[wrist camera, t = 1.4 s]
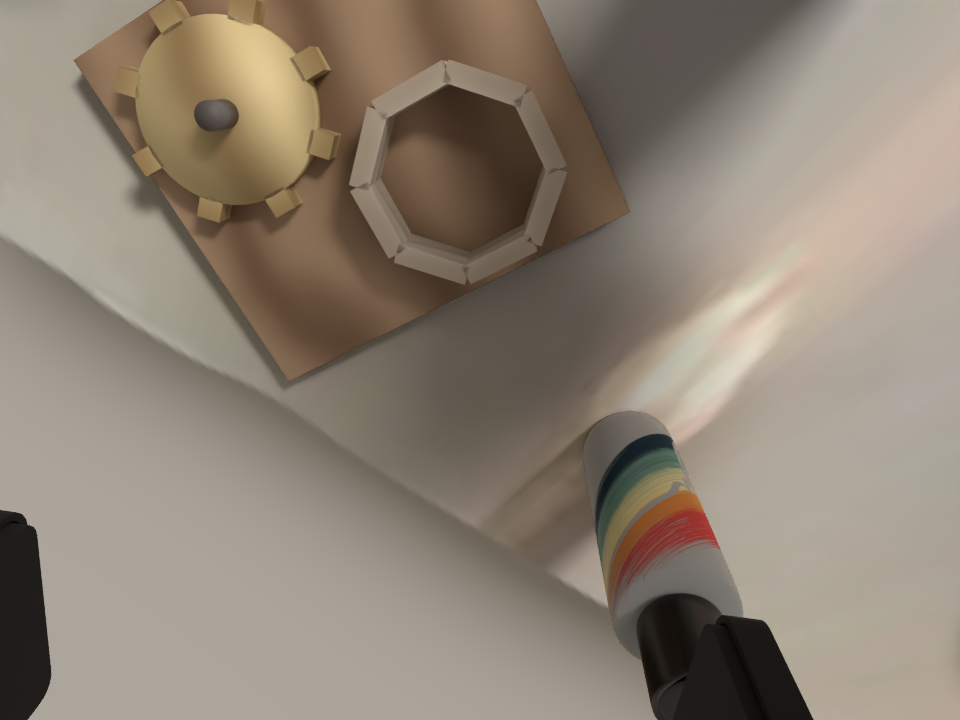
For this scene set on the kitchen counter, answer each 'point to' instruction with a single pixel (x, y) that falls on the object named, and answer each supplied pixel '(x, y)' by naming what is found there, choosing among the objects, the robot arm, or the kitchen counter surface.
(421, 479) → the kitchen counter surface
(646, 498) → the lotion bottle
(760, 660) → the robot arm
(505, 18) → the gear board
